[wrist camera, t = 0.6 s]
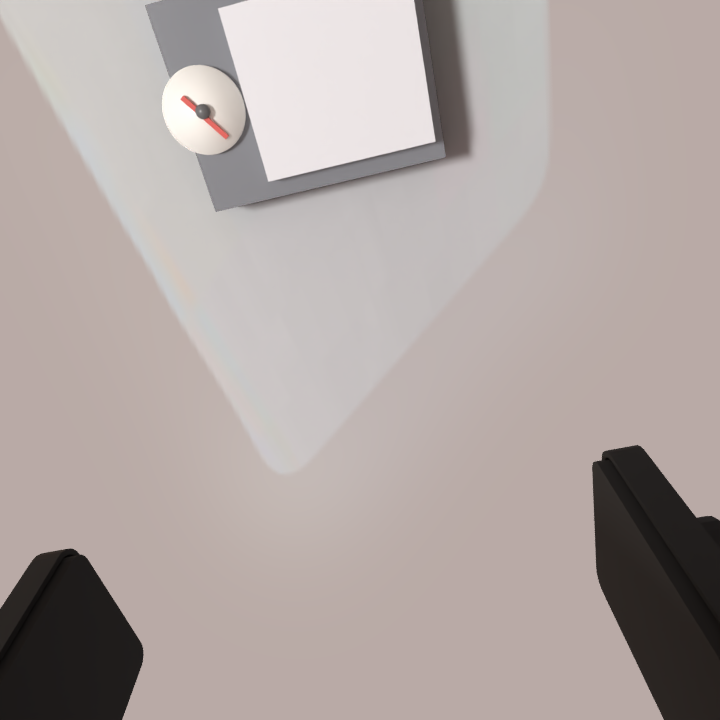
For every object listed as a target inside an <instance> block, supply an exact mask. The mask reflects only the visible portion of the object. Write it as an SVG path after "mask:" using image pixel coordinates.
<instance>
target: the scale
mask: <svg viewBox="0 0 720 720" xmlns="http://www.w3.org/2000/svg"><path fill="white" fill-rule="evenodd" d="M145 7H146V10H147V13H148V16H149V19H150V22H151V24H152V27H153V30H154V33H155V36H156V39H157V42H158V45H159V48H160V51H161V54H162V57H163V59H164V62H165V65H166V68H167V71H168V74H169V77H170V80H169V81H168V83H167V85H166V87H165V89H164V92H163V97H162V111H163V116H164V120H165V122H166V125H167V127H168V129H169V131H170V132H171V134H172V135H173V137H174V138H175V139H176V140H177V141H178V142H179V143H180V144H181V145H183V146H184V147H185V148H187V149H189V150H191V151H193V152H195V153H196V156H197V159H198V162H199V164H200V167H201V170H202V173H203V176H204V179H205V182H206V185H207V188H208V191H209V194H210V196H211V199H212V202H213V205H214V208H215V211H216V212H217V211H222V210H226V209H230V208H234V207H238V206H243V205H247V204H251V203H255V202H260V201H264V200H268V199H272V198H276V197H281V196H285V195H289V194H293V193H298V192H302V191H306V190H310V189H314V188H319V187H323V186H327V185H331V184H336V183H340V182H344V181H348V180H352V179H357V178H361V177H365V176H369V175H374V174H378V173H382V172H386V171H390V170H395V169H399V168H403V167H407V166H411V165H416V164H420V163H424V162H428V161H433V160H437V159H441V158H445V157H446V155H445V148H444V142H443V135H442V128H441V121H440V114H439V107H438V100H437V94H436V87H435V80H434V73H433V66H432V59H431V53H430V46H429V39H428V32H427V25H426V18H425V12H424V5H423V0H162V1H159V2H155V3H152V4H148V5H145Z"/></svg>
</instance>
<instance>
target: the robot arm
mask: <svg viewBox="0 0 720 720" xmlns="http://www.w3.org/2000/svg"><path fill="white" fill-rule="evenodd" d="M592 471H593V496H594V521H595V546H596V569H597V575H598V579H599V583H600V586H601V589H602V591H603V593H604V595H605V597H606V600H607V601H608V604H609V606H610V608H611V610H612V612H613V614H614V616H615V618H616V620H617V622H618V625H619V627H620V629H621V631H622V633H623V635H624V637H625V639H626V641H627V643H628V645H629V648H630V650H631V652H632V654H633V656H634V658H635V660H636V662H637V664H638V666H639V668H640V670H641V673H642V675H643V677H644V679H645V681H646V683H647V685H648V687H649V689H650V691H651V694H652V696H653V698H654V700H655V702H656V704H657V706H658V708H659V710H660V712H661V714H662V717H663V719H664V720H720V521H719V520H718V519H716V518H714V517H712V516H705V517H699V518H696V517H695V515H694V514H693V513H692V511H691V510H690V509H689V508H688V506H687V505H686V504H685V502H684V501H683V500H682V498H681V497H680V496H679V495H678V494H677V492H676V491H675V490H674V488H673V487H672V486H671V484H670V483H669V482H668V480H667V479H666V478H665V477H664V475H663V474H662V472H661V471H660V470H659V469H658V467H657V466H656V465H655V463H654V462H653V461H652V459H651V458H650V457H649V456H648V454H647V453H646V452H645V451H644V449H643V448H642V447H641V446H638V445H636V446H630V447H625V448H619V449H614V450H608V451H604V452H603V454H602V461H597V462H593V467H592ZM142 662H143V647H142V644H141V642H140V640H139V639H138V637H137V636H136V634H135V633H134V631H133V629H132V628H131V626H130V625H129V623H128V622H127V620H126V618H125V617H124V615H123V614H122V612H121V611H120V609H119V607H118V606H117V604H116V603H115V601H114V600H113V598H112V597H111V595H110V594H109V592H108V590H107V589H106V587H105V586H104V584H103V582H102V581H101V579H100V578H99V576H98V575H97V573H96V572H95V570H94V568H93V567H92V565H91V564H90V562H89V561H88V559H87V558H86V557H85V556H83V555H80V554H79V553H78V552H77V551H76V550H74V549H65V550H59V551H53V552H48V553H43V554H40V555H38V556H36V557H35V558H34V559H33V561H32V562H31V563H30V565H29V566H28V568H27V570H26V571H25V572H24V574H23V575H22V577H21V579H20V580H19V582H18V583H17V585H16V586H15V588H14V589H13V591H12V592H11V594H10V595H9V597H8V598H7V600H6V601H5V603H4V604H3V606H2V607H1V609H0V720H122V718H123V716H124V713H125V710H126V707H127V705H128V702H129V699H130V695H131V693H132V691H133V688H134V685H135V682H136V680H137V677H138V674H139V671H140V668H141V666H142Z"/></svg>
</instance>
